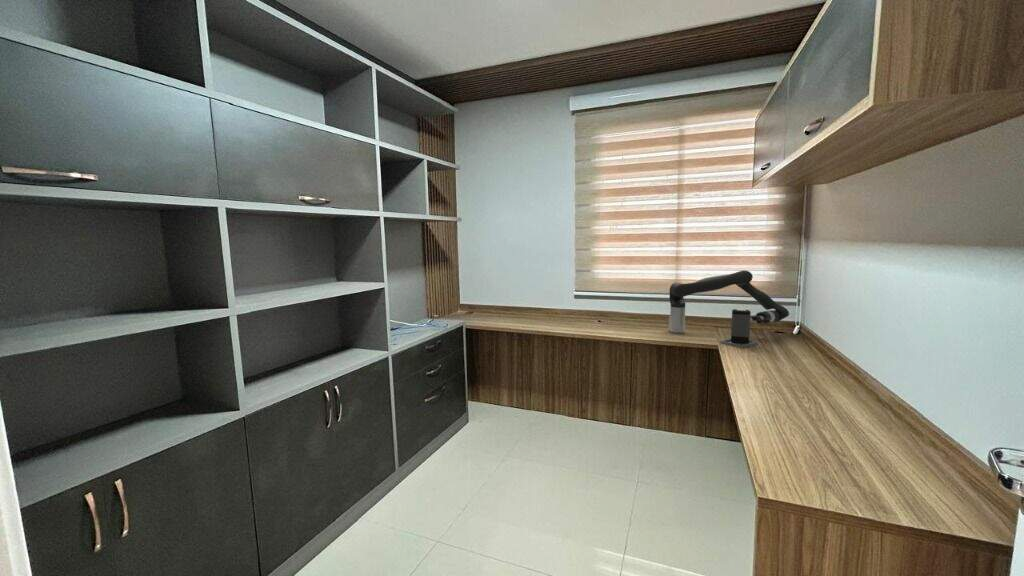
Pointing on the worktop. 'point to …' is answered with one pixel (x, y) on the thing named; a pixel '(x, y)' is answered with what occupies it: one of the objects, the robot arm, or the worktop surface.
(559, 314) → the worktop surface
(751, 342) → the charging dock
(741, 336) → the electronic device
